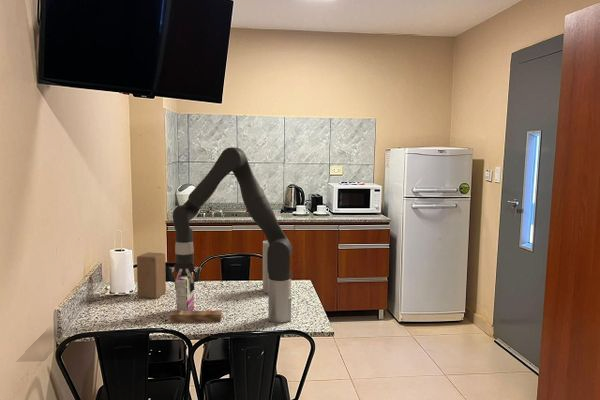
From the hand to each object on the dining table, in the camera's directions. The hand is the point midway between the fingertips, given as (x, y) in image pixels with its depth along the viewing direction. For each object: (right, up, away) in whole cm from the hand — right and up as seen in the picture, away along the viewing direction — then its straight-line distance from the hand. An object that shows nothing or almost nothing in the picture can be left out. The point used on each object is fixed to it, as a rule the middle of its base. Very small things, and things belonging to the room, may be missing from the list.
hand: (185, 291), depth 199 cm
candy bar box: (0, -10, +1) cm, 10 cm away
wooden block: (-22, -7, +25) cm, 34 cm away
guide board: (+7, -10, -8) cm, 14 cm away
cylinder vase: (+37, -7, +34) cm, 50 cm away
